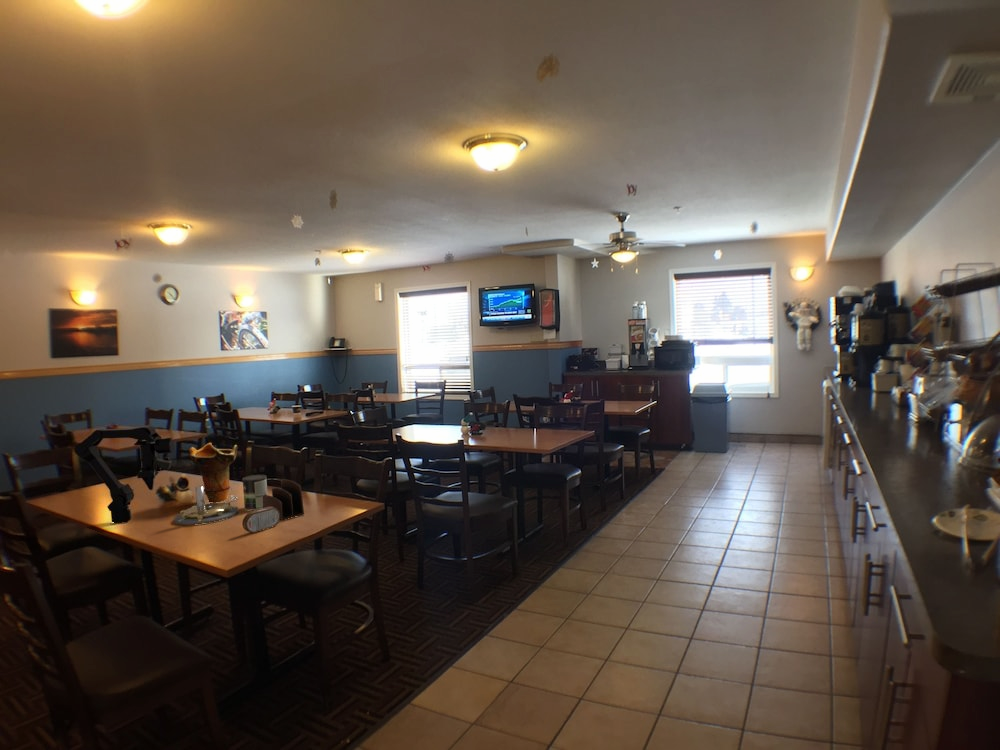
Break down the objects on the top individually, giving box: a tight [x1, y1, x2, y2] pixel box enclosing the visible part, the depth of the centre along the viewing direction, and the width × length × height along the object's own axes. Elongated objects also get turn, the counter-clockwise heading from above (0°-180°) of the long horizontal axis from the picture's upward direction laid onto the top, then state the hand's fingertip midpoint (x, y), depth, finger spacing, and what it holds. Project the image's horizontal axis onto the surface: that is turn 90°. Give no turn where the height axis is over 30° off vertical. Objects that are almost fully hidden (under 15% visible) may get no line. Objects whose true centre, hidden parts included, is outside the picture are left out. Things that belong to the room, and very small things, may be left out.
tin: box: [242, 507, 281, 534], centre depth 237 cm, size 15×3×8 cm, turn 141°
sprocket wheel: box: [179, 485, 234, 519], centre depth 259 cm, size 21×21×13 cm
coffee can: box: [242, 474, 268, 511], centre depth 270 cm, size 10×10×14 cm
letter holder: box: [263, 478, 305, 521], centre depth 258 cm, size 10×20×14 cm, turn 44°
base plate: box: [174, 504, 239, 526], centre depth 260 cm, size 25×25×2 cm
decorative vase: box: [189, 442, 238, 503], centre depth 285 cm, size 21×23×28 cm
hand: (151, 489), depth 259 cm, fingers closed
